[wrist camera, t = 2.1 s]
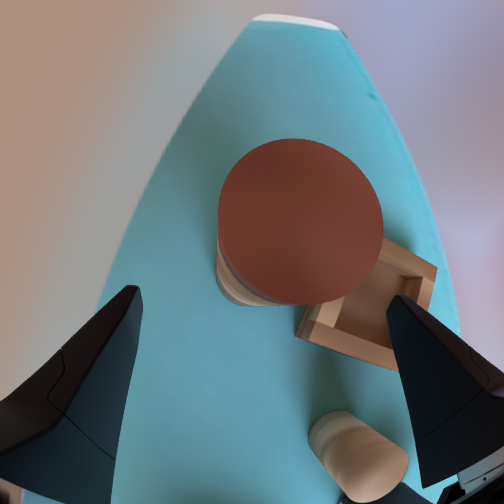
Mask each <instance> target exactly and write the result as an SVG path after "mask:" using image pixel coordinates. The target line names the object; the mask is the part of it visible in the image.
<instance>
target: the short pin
mask: <svg viewBox="0 0 504 504" xmlns="http://www.w3.org/2000/svg"><path fill="white" fill-rule="evenodd" d="M308 444H309V446H310V448H311V450H312V451H313V452H314V454H315V455H316V456H317V458H318V459H319V460H320V462H321V463H322V464H323V465H324V467H325V468H326V469H327V471H328V472H329V473H330V475H331V476H332V477H333V478H334V480H335V481H336V482H337V483H338V485H339V486H340V487H341V488H342V490H343V491H344V492H345V493H346V495H347V496H348V497H349V498H350V499H351V500H352V501H355V502H359V503H366V502H371V501H374V500H377V499H379V498H381V497H383V496H384V495H386V494H387V493H389V492H390V491H391V490H393V489H394V488H395V487H396V486H397V485H398V483H399V482H400V481H401V480H402V478H403V476H404V475H405V473H406V470H407V467H408V455H407V453H406V451H405V450H404V449H402V448H401V447H399V446H398V445H396V444H394V443H393V442H391V441H390V440H388V439H387V438H385V437H384V436H382V435H381V434H379V433H378V432H376V431H375V430H373V429H372V428H371V427H369V426H368V425H366V424H365V423H363V422H362V421H360V420H359V419H358V418H356V417H355V416H353V415H352V414H350V413H349V412H346V411H333V412H329V413H327V414H325V415H323V416H322V417H320V418H319V419H318V420H317V421H316V422H315V423H314V424H313V426H312V428H311V429H310V432H309V435H308Z"/></svg>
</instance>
